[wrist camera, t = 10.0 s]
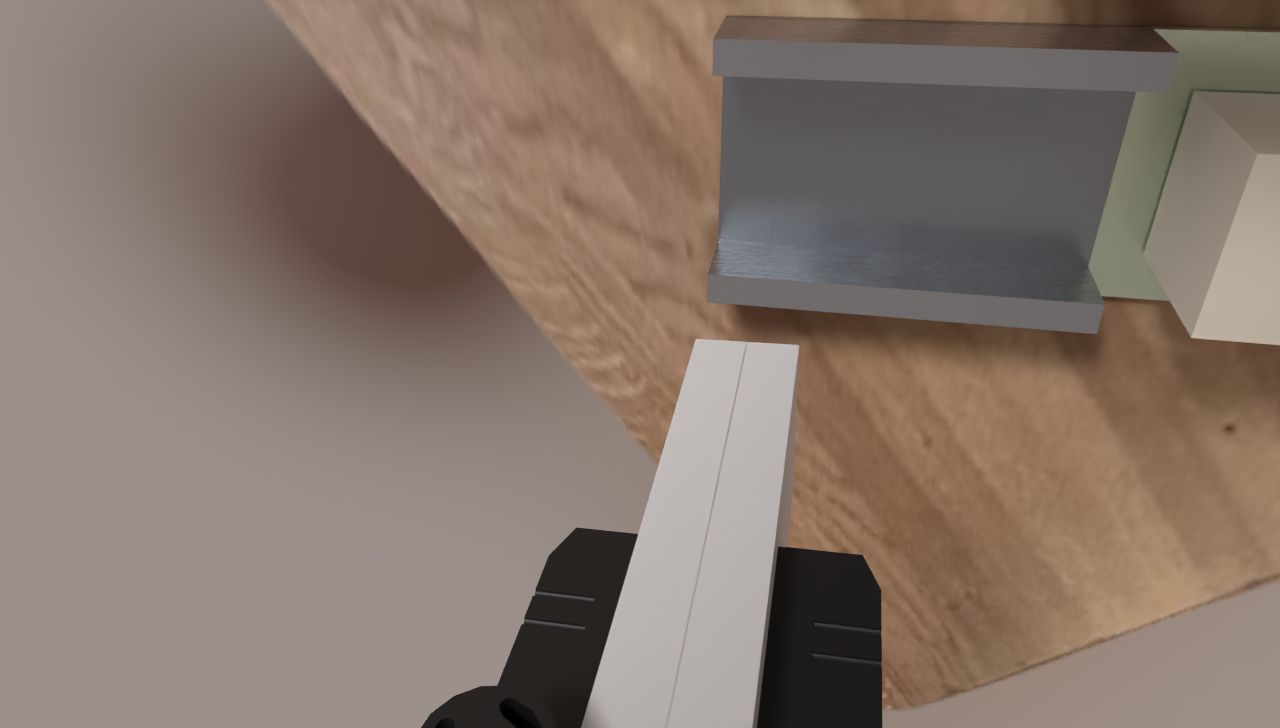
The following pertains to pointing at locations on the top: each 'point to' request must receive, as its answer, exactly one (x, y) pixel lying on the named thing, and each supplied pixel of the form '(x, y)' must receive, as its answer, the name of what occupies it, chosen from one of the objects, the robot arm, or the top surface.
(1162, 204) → the block
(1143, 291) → the chute
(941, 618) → the top surface
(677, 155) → the top surface
